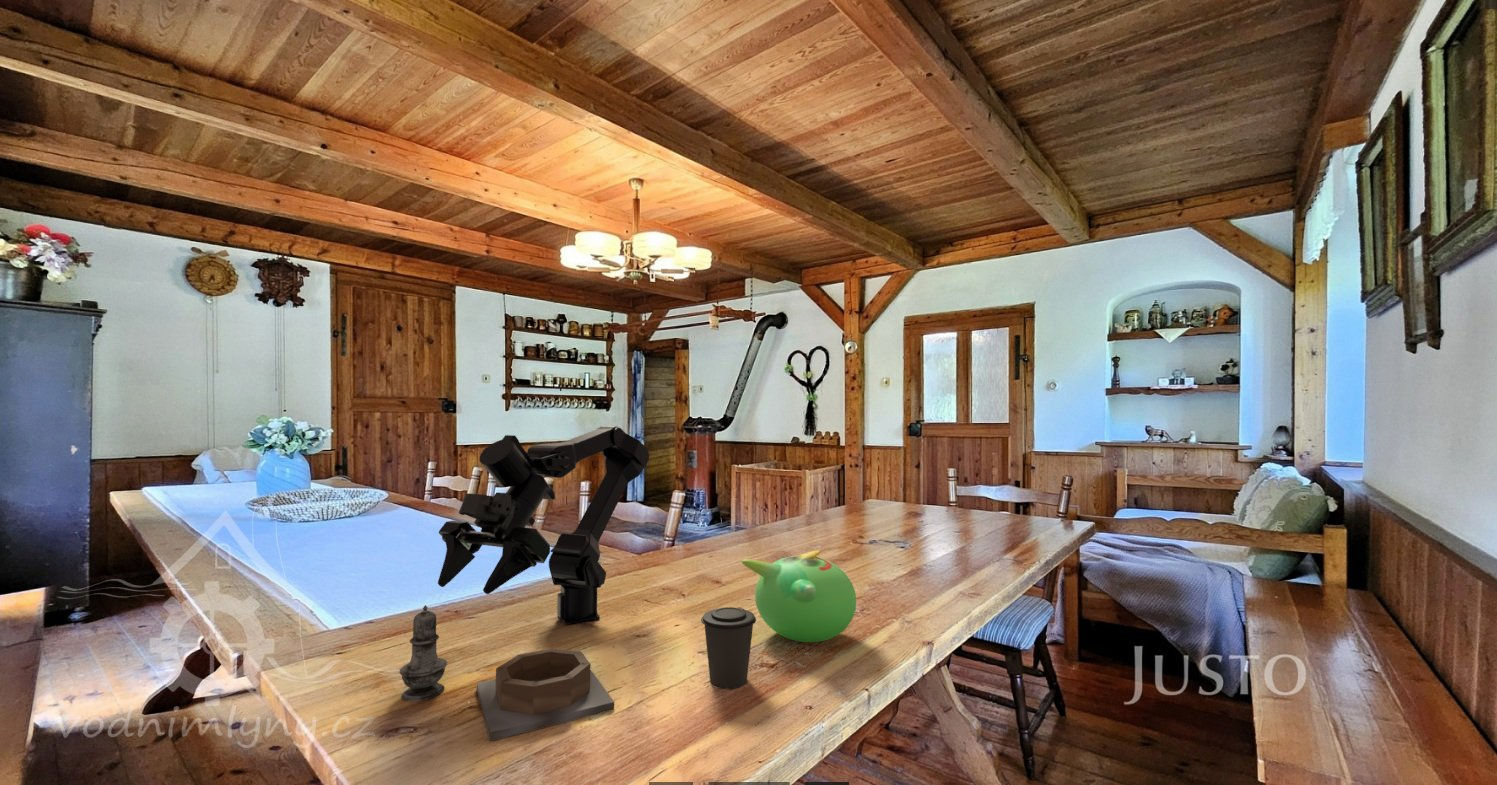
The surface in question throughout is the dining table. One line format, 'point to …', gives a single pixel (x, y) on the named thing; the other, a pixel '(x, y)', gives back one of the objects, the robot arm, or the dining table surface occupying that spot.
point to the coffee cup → (728, 645)
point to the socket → (541, 692)
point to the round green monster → (804, 597)
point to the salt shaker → (423, 661)
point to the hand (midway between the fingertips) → (462, 589)
